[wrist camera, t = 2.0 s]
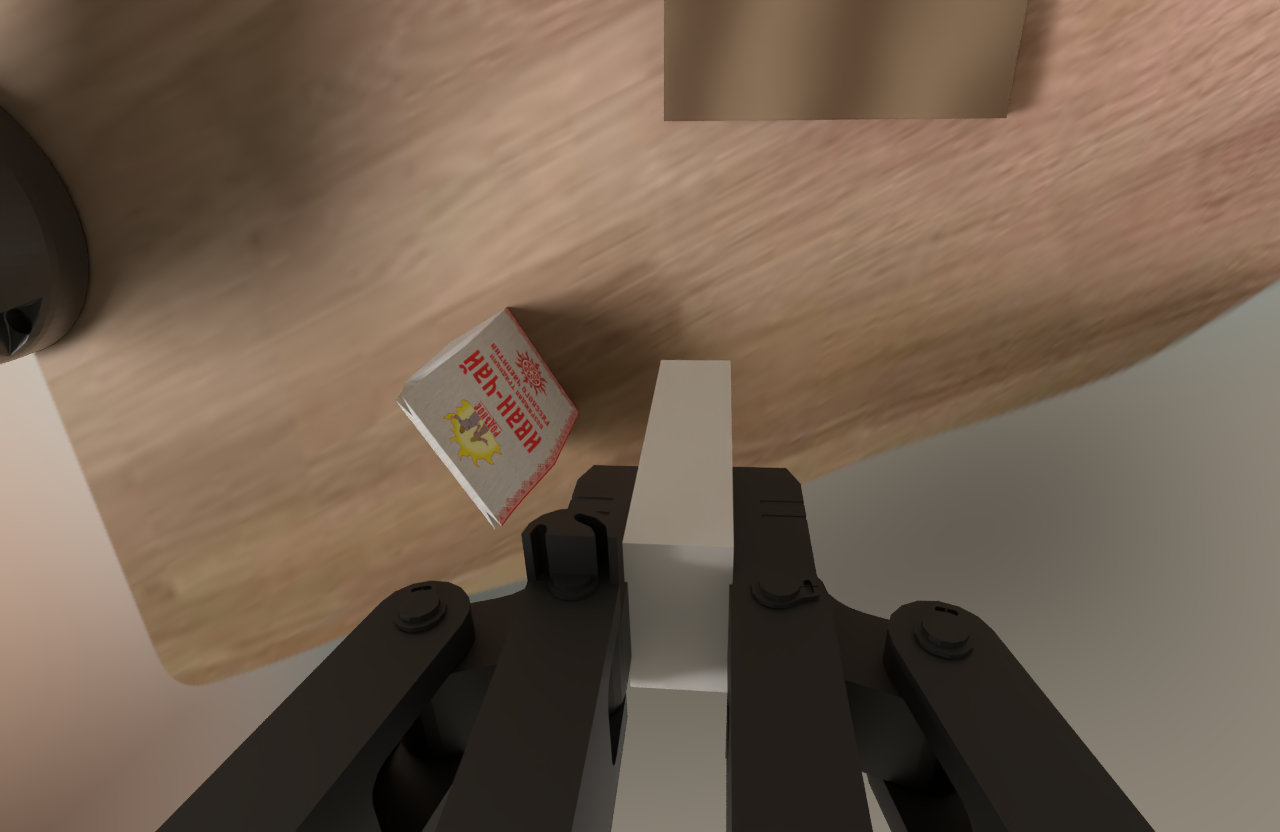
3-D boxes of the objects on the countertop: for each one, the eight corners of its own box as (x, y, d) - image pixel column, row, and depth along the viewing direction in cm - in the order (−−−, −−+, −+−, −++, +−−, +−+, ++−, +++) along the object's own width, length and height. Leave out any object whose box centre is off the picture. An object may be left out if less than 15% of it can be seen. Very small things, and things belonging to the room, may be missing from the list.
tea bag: (524, 441, 39) (463, 545, 30) (451, 340, 37) (363, 419, 28) (579, 412, 38) (532, 511, 29) (507, 306, 36) (432, 377, 27)
